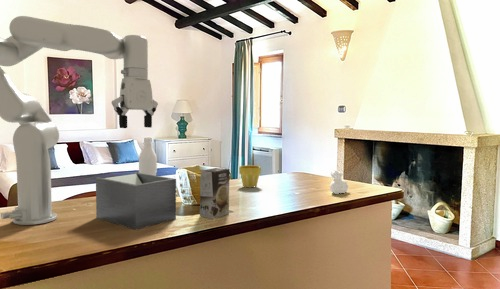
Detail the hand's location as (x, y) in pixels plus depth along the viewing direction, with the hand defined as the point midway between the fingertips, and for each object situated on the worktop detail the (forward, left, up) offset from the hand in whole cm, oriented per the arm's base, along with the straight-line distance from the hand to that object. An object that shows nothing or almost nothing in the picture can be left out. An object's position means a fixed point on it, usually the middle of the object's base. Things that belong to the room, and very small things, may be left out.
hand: (136, 127), depth 128 cm
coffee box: (+20, -17, -31) cm, 40 cm away
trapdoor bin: (0, 0, -30) cm, 30 cm away
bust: (+85, -34, -31) cm, 97 cm away
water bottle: (+20, +19, -31) cm, 41 cm away
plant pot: (+70, +5, -31) cm, 77 cm away
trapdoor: (0, +4, -23) cm, 23 cm away
